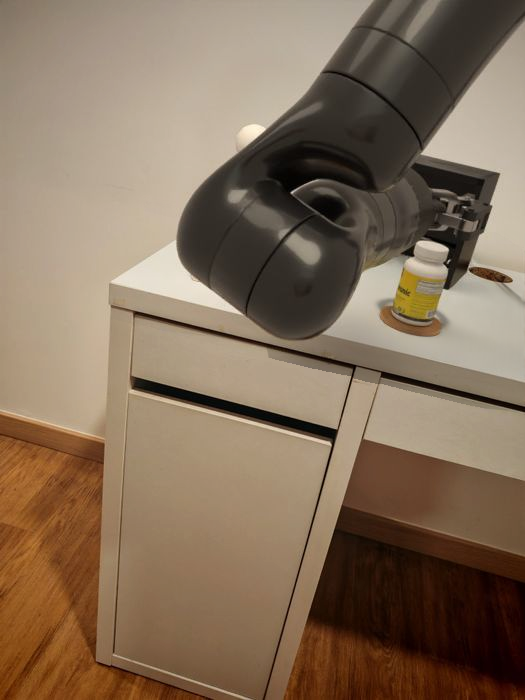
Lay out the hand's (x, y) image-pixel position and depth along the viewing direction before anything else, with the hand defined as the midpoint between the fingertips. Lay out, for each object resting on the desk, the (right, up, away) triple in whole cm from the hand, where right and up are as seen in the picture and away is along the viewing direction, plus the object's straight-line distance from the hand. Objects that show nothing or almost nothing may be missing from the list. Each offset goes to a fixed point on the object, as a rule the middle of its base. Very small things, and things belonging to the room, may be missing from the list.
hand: (426, 193), depth 59 cm
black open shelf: (+6, -1, +41) cm, 41 cm away
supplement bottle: (+3, -12, +16) cm, 21 cm away
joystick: (-21, -6, +21) cm, 30 cm away
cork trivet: (+3, -12, +17) cm, 21 cm away
